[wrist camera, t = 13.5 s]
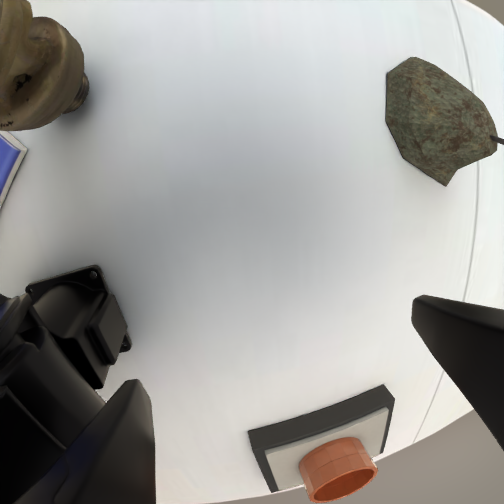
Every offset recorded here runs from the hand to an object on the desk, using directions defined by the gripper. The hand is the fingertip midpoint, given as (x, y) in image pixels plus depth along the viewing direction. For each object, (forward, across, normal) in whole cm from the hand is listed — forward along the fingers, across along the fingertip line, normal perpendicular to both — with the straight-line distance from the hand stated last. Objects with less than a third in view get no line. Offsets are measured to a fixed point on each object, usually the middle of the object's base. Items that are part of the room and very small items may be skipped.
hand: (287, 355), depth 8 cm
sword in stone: (+11, -16, -6) cm, 20 cm away
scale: (+11, -4, +23) cm, 26 cm away
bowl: (+8, -4, +22) cm, 24 cm away
